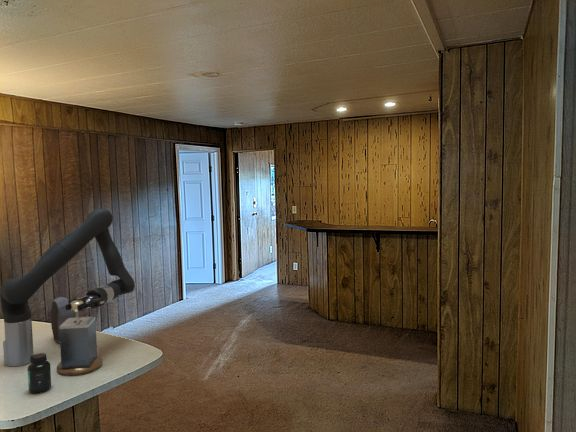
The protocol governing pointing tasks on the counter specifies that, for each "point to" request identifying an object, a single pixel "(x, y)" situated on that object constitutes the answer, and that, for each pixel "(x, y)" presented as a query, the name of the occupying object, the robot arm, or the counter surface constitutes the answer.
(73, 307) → the plunger
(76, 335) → the square holed block
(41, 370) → the supplement bottle
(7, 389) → the counter surface
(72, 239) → the robot arm
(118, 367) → the counter surface
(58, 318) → the soft grey pack
